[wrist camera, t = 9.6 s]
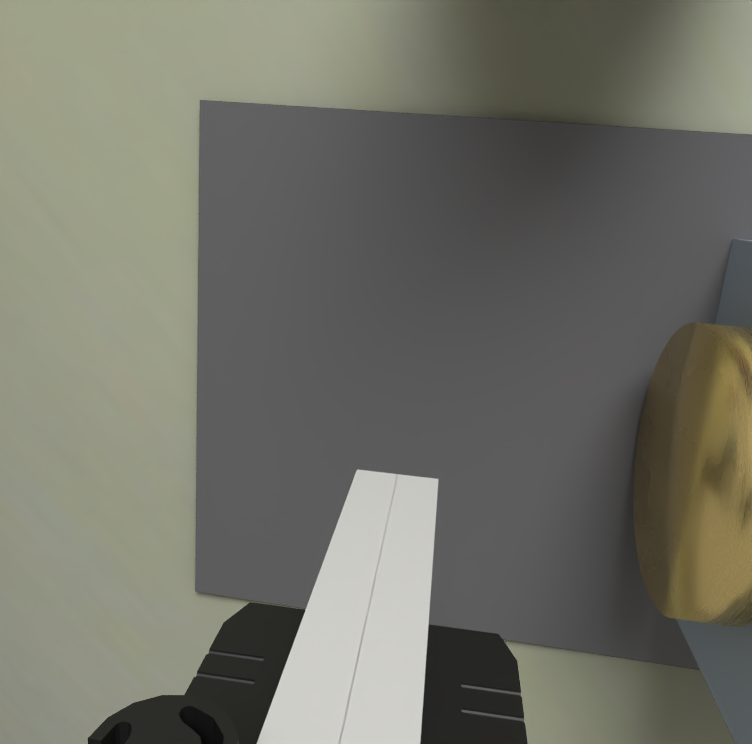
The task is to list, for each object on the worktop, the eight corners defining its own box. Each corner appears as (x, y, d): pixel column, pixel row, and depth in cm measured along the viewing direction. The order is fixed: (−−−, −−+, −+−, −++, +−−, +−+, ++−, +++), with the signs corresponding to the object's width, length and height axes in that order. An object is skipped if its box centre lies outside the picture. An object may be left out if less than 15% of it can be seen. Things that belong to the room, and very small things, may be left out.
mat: (198, 587, 27) (195, 591, 26) (203, 101, 22) (199, 100, 22) (974, 707, 23) (980, 713, 23) (1168, 161, 19) (1178, 161, 19)
